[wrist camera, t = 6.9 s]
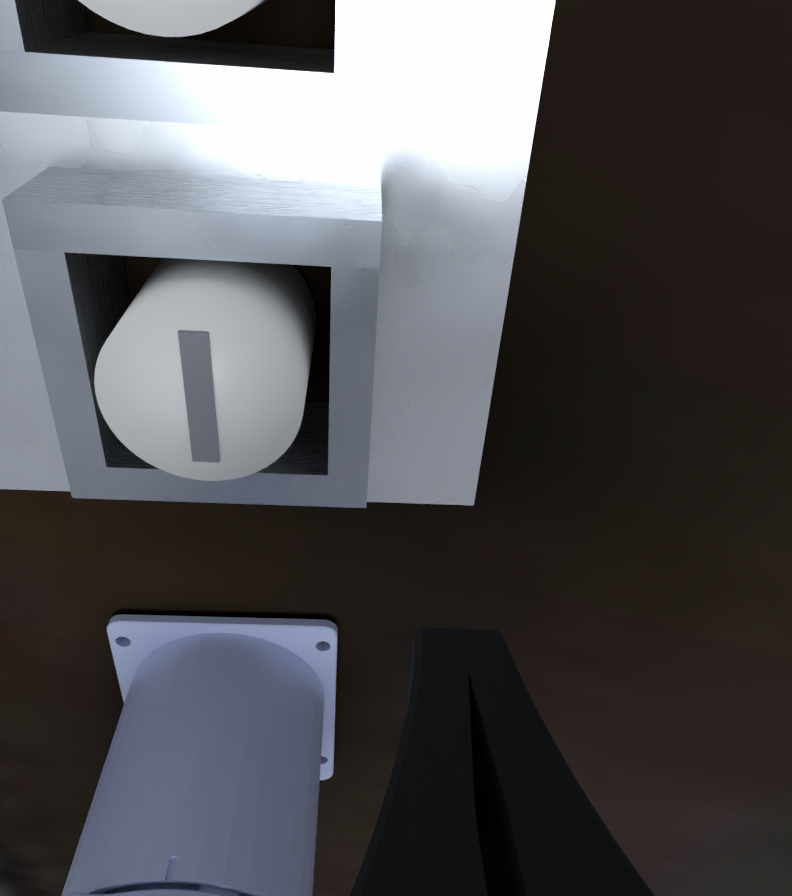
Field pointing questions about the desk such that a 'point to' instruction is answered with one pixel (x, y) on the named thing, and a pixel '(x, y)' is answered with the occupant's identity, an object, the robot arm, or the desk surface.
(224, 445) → the knob
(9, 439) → the mount
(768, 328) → the desk surface
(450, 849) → the robot arm
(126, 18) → the knob
